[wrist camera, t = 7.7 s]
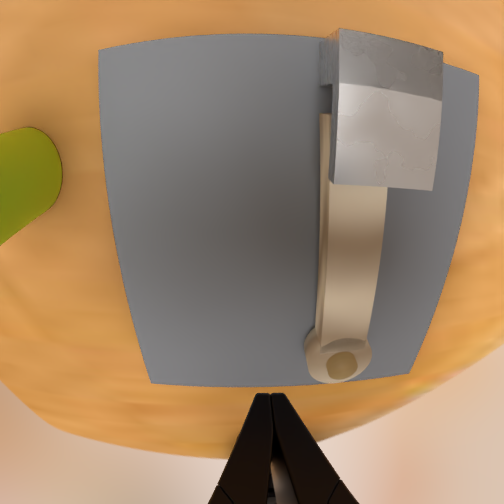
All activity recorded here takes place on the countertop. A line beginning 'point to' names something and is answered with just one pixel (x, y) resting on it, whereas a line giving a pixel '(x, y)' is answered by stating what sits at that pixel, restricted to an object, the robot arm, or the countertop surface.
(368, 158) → the block
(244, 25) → the countertop surface
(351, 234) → the link
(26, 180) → the soap dispenser
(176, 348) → the board
